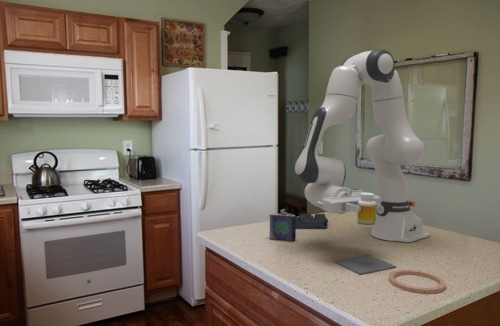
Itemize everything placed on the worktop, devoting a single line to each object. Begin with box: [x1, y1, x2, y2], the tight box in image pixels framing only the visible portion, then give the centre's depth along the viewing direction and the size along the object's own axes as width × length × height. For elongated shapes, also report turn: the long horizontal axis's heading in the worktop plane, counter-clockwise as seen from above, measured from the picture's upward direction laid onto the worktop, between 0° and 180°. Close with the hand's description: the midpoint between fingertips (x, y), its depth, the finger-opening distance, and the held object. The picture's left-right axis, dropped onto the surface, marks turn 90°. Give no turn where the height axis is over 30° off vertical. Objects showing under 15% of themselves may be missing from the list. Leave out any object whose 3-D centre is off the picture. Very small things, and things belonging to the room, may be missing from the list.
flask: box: [269, 208, 297, 243], centre depth 150 cm, size 10×3×12 cm, turn 71°
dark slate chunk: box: [295, 213, 329, 230], centre depth 173 cm, size 15×22×5 cm
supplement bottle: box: [356, 192, 376, 228], centre depth 123 cm, size 5×5×10 cm
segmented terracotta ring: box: [388, 269, 447, 295], centre depth 110 cm, size 14×14×1 cm
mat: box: [333, 254, 397, 276], centre depth 124 cm, size 14×12×1 cm
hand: (368, 208), depth 122 cm, fingers closed on supplement bottle, 5 cm apart
